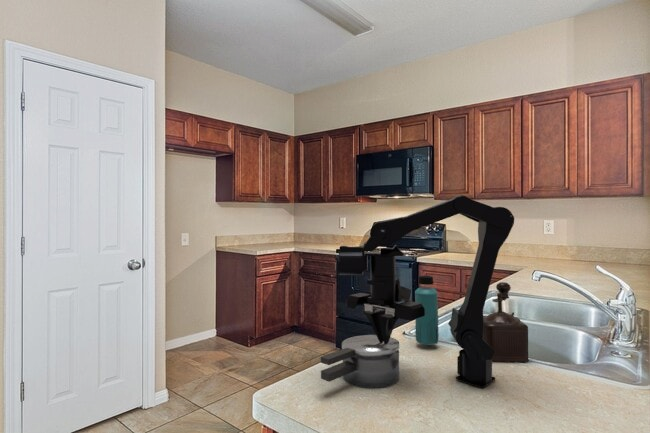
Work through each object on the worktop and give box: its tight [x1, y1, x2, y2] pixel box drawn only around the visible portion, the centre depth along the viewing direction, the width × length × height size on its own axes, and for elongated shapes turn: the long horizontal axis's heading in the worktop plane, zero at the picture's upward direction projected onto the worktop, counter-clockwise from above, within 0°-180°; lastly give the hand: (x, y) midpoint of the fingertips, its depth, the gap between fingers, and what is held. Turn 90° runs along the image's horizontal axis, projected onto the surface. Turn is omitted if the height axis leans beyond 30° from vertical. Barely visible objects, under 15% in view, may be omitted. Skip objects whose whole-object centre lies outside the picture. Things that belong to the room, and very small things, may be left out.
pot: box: [320, 349, 400, 389], centre depth 88 cm, size 14×21×6 cm, turn 133°
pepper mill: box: [483, 281, 530, 364], centre depth 106 cm, size 16×11×18 cm
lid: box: [320, 334, 400, 366], centre depth 88 cm, size 13×21×1 cm, turn 133°
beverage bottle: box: [414, 275, 440, 346], centre depth 111 cm, size 6×7×20 cm
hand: (383, 342), depth 90 cm, fingers closed
